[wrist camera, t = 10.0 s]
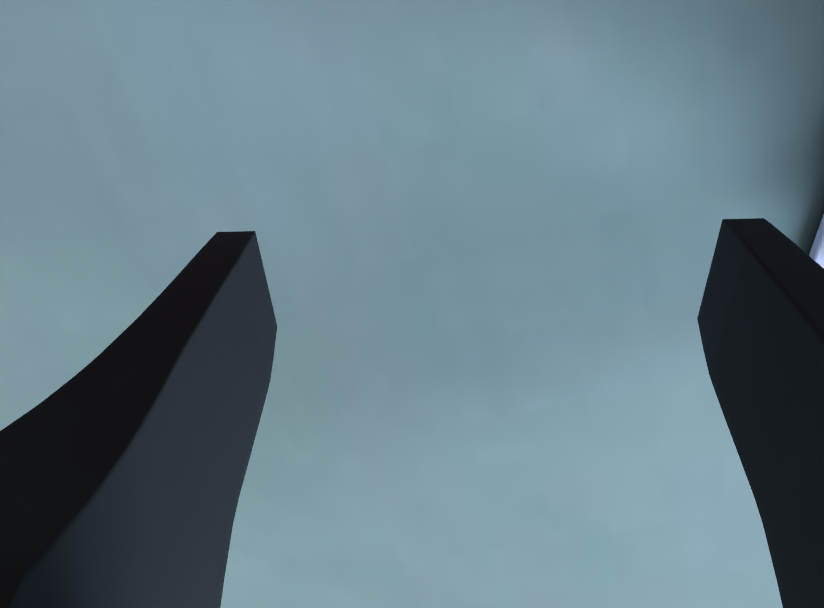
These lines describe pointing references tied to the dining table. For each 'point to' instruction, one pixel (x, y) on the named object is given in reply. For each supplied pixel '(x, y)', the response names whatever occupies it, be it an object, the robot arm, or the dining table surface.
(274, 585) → the dining table surface
